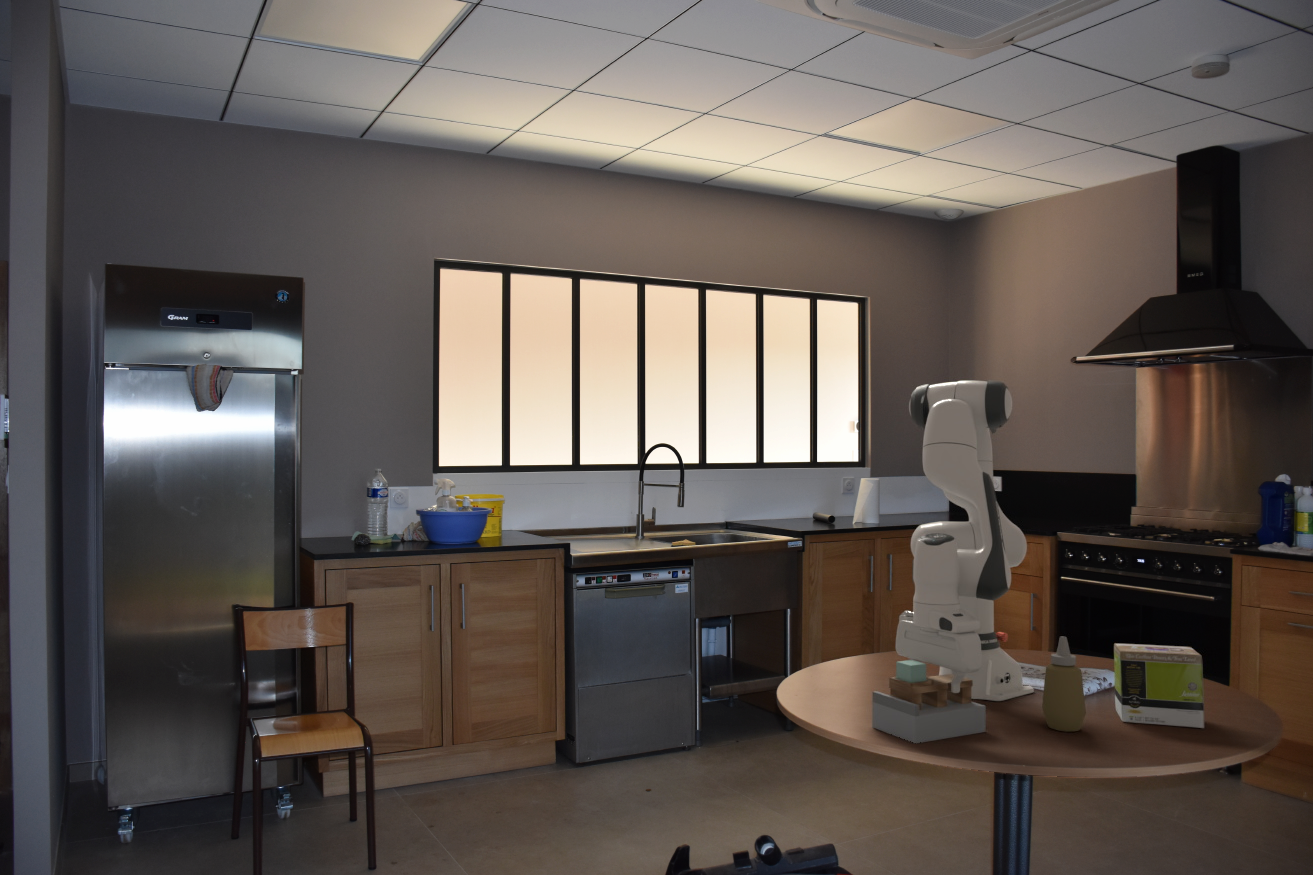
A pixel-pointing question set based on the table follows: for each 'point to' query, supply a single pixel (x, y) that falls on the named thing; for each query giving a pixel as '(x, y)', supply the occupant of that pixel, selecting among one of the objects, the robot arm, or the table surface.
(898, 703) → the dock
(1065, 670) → the squeeze bottle
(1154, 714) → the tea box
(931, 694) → the pallet
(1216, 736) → the table surface
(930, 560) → the robot arm
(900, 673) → the mint green cube
